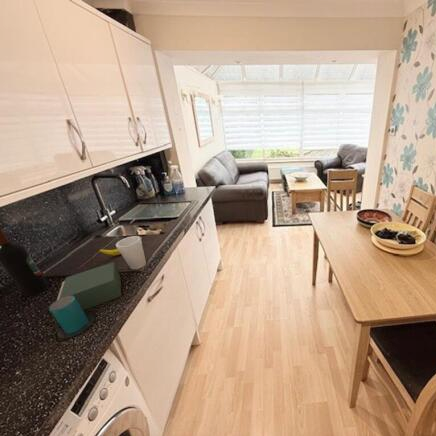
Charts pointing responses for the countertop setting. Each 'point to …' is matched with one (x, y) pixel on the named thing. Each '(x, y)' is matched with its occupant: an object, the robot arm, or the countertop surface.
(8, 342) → the countertop surface
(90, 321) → the coaster
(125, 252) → the foam cup
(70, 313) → the can
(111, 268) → the cabinet
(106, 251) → the banana
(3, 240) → the wine bottle
